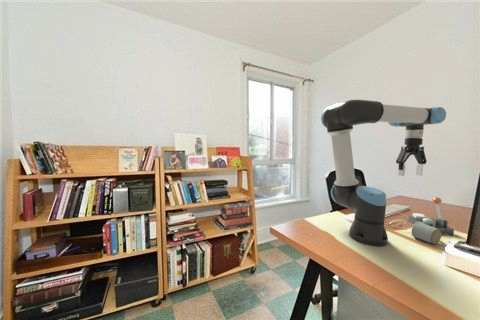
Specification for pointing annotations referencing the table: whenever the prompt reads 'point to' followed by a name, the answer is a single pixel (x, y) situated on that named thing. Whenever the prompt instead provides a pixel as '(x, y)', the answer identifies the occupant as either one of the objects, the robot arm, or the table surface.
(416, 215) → the rocker
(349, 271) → the table surface
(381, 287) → the table surface
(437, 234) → the grey cylinder
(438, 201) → the toggle lever
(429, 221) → the push button
